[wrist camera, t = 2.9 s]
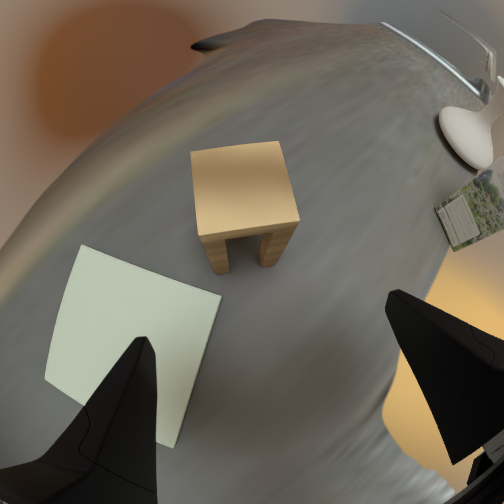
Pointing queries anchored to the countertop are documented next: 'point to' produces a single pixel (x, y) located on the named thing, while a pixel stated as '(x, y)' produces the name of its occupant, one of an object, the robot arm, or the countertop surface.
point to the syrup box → (475, 208)
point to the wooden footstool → (243, 200)
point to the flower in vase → (473, 129)
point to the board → (130, 332)
